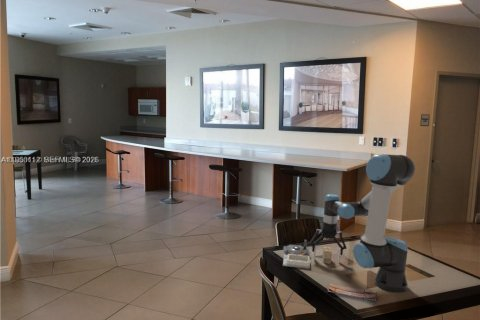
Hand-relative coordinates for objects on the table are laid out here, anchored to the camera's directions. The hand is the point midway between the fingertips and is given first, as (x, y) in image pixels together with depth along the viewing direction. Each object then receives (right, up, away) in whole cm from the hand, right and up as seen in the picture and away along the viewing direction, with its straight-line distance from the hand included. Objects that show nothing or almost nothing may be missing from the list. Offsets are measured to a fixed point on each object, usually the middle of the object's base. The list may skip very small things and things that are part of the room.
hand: (326, 258), depth 216 cm
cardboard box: (0, -1, 0) cm, 1 cm away
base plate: (-17, 0, +2) cm, 17 cm away
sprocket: (-16, +2, +8) cm, 18 cm away
